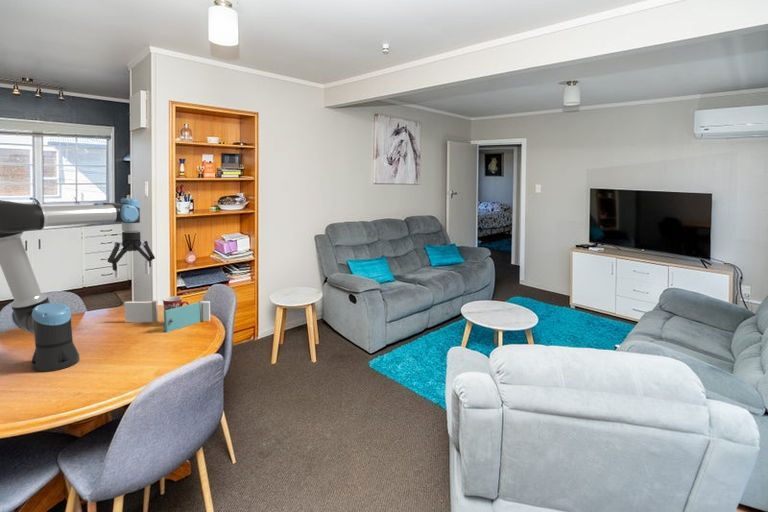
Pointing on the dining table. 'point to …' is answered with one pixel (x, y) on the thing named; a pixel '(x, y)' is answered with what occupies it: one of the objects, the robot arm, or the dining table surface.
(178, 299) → the mug
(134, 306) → the wall frame
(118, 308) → the dining table surface
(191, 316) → the door
